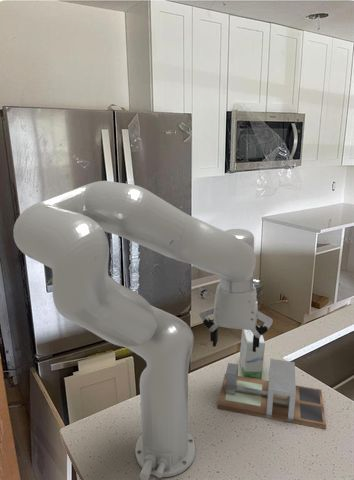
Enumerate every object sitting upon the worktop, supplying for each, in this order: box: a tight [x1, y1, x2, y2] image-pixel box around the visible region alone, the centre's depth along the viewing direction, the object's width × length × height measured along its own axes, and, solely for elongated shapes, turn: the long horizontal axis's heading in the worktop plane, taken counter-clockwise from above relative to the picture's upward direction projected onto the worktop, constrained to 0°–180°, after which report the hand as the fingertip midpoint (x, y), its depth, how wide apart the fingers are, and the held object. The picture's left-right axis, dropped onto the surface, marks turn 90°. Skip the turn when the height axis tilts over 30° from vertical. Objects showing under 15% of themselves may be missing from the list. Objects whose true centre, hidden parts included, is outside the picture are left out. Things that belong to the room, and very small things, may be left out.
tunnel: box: [266, 358, 297, 424], centre depth 90 cm, size 12×6×8 cm, turn 164°
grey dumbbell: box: [225, 362, 290, 407], centre depth 91 cm, size 6×16×6 cm, turn 74°
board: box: [217, 373, 327, 430], centre depth 91 cm, size 12×24×1 cm, turn 74°
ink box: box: [239, 329, 266, 380], centre depth 101 cm, size 9×5×12 cm, turn 179°
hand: (234, 346), depth 90 cm, fingers open, 9 cm apart
